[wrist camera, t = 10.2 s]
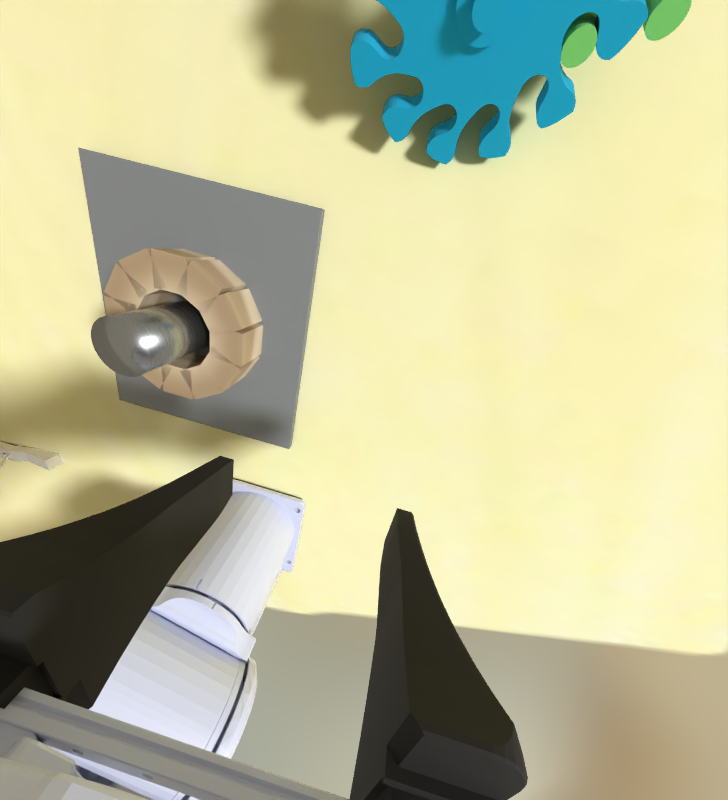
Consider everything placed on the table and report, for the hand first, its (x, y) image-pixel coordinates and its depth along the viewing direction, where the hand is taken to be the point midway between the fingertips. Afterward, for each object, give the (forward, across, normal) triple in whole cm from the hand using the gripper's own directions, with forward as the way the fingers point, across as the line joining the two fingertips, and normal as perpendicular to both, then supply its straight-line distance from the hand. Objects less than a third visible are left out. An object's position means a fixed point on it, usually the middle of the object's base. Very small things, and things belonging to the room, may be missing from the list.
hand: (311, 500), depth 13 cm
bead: (+9, +11, -3) cm, 14 cm away
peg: (+9, +11, -3) cm, 14 cm away
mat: (+9, +11, -3) cm, 15 cm away
